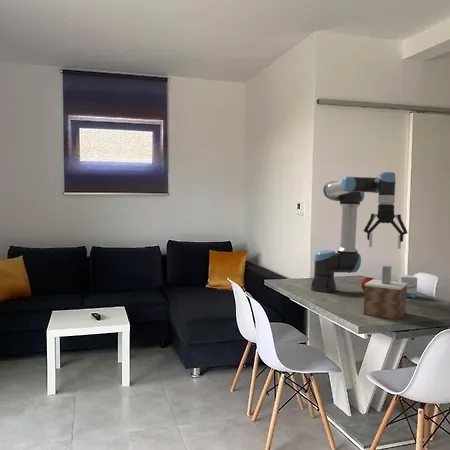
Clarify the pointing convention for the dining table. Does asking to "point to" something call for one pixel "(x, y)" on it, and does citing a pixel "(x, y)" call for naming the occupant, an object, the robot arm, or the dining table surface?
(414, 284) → the ink box
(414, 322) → the dining table surface
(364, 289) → the apple
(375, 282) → the lid
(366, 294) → the crate
